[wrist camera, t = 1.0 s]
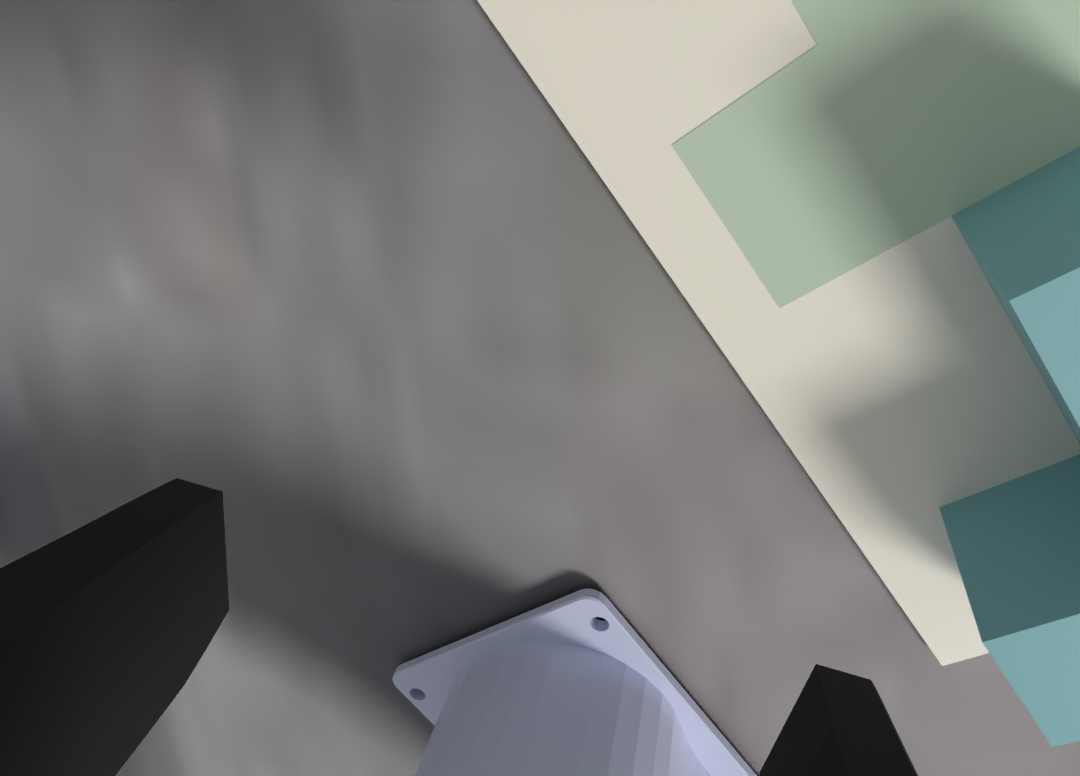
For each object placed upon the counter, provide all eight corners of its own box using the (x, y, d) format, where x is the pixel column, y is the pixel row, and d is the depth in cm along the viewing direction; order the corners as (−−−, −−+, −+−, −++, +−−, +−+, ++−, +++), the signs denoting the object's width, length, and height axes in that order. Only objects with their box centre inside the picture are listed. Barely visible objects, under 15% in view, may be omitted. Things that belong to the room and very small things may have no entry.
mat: (1659, 441, 15) (1681, 455, 14) (939, 653, 20) (942, 666, 20) (1224, -1041, 9) (1245, -1080, 8) (388, -137, 15) (379, -138, 14)
